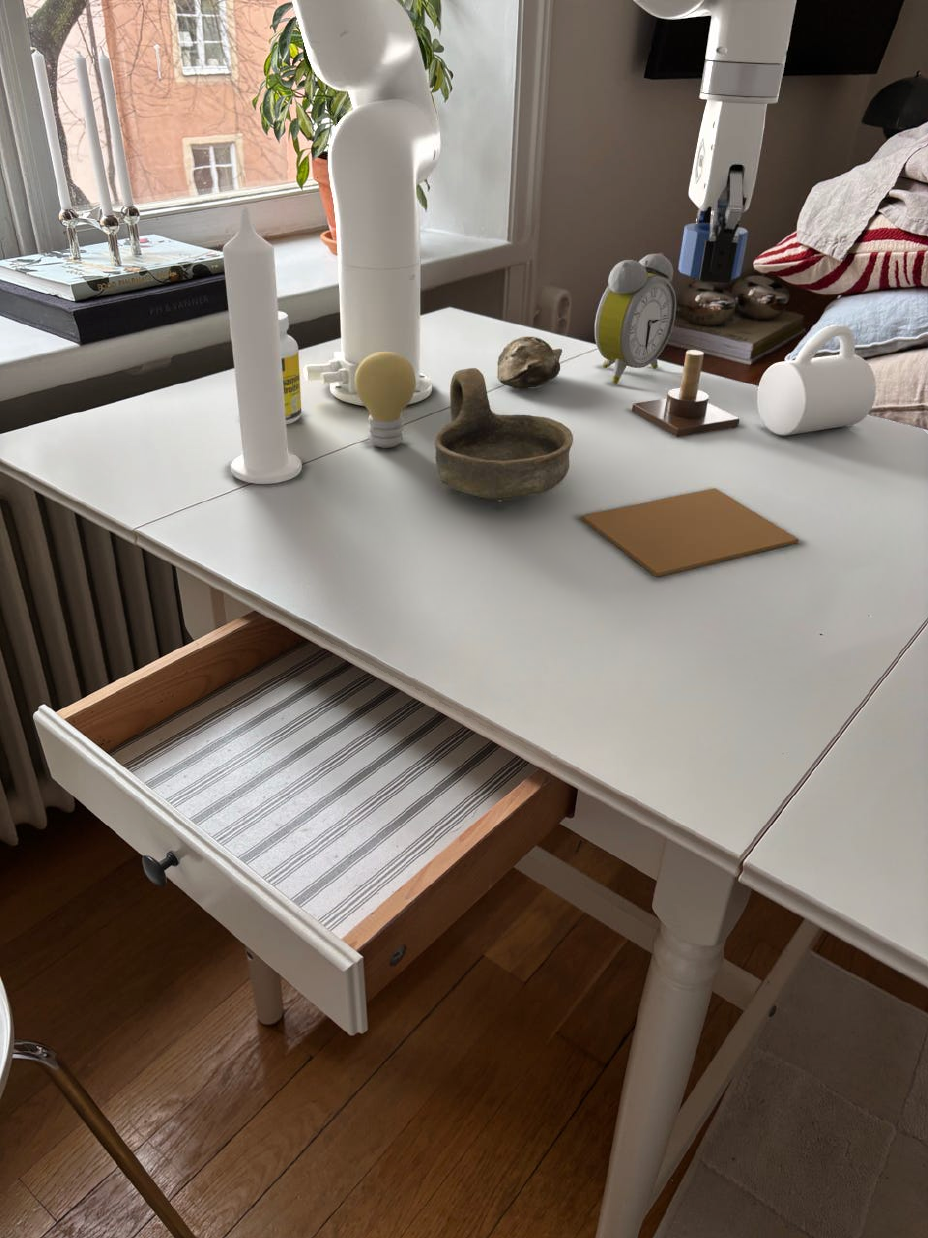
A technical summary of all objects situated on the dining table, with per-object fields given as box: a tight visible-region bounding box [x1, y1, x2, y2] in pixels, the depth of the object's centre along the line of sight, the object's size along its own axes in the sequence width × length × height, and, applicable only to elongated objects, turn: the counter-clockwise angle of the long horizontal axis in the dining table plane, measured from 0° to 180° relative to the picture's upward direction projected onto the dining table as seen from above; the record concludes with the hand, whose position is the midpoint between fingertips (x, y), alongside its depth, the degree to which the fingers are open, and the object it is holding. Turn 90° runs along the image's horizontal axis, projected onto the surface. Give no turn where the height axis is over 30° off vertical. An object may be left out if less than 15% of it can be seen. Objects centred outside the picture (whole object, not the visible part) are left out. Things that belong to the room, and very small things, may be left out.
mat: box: [581, 487, 800, 578], centre depth 89 cm, size 16×12×1 cm
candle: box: [222, 206, 303, 485], centre depth 91 cm, size 7×7×25 cm
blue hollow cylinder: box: [677, 222, 749, 280], centre depth 102 cm, size 6×6×4 cm
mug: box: [756, 324, 877, 437], centre depth 110 cm, size 8×10×12 cm
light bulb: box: [355, 352, 416, 449], centre depth 102 cm, size 6×6×10 cm
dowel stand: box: [631, 349, 740, 438], centre depth 112 cm, size 9×9×8 cm
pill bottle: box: [278, 310, 302, 425], centre depth 107 cm, size 6×6×12 cm
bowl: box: [434, 367, 574, 503], centre depth 94 cm, size 14×18×10 cm
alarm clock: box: [594, 252, 677, 385], centre depth 124 cm, size 12×7×15 cm, turn 137°
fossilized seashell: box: [496, 336, 563, 390], centre depth 122 cm, size 8×7×10 cm
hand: (709, 271), depth 103 cm, fingers closed on blue hollow cylinder, 6 cm apart
